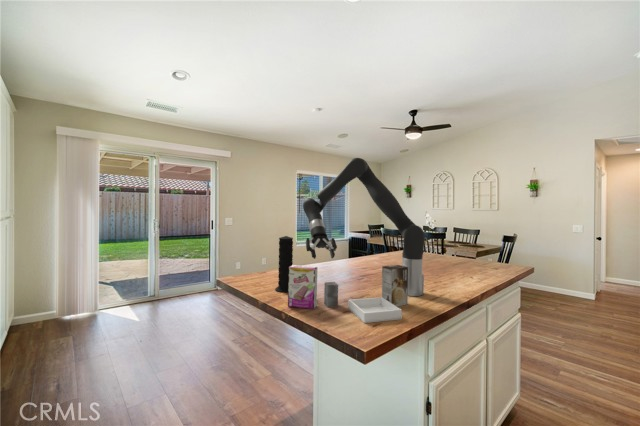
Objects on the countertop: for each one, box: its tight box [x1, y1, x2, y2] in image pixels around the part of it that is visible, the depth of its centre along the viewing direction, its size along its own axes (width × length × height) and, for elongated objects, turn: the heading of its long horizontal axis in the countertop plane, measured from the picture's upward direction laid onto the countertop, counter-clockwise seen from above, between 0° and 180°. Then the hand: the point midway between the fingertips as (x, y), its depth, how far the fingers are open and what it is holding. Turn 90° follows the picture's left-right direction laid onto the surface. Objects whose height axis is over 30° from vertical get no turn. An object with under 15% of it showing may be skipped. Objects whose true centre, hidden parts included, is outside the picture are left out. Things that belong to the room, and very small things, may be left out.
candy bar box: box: [287, 264, 318, 310], centre depth 114 cm, size 11×5×16 cm, turn 78°
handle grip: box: [274, 235, 294, 294], centre depth 137 cm, size 10×26×10 cm
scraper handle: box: [323, 281, 339, 308], centre depth 116 cm, size 4×4×9 cm
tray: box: [347, 296, 403, 324], centre depth 108 cm, size 15×15×4 cm
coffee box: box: [381, 264, 409, 307], centre depth 119 cm, size 9×6×16 cm
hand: (324, 257), depth 126 cm, fingers open, 8 cm apart
